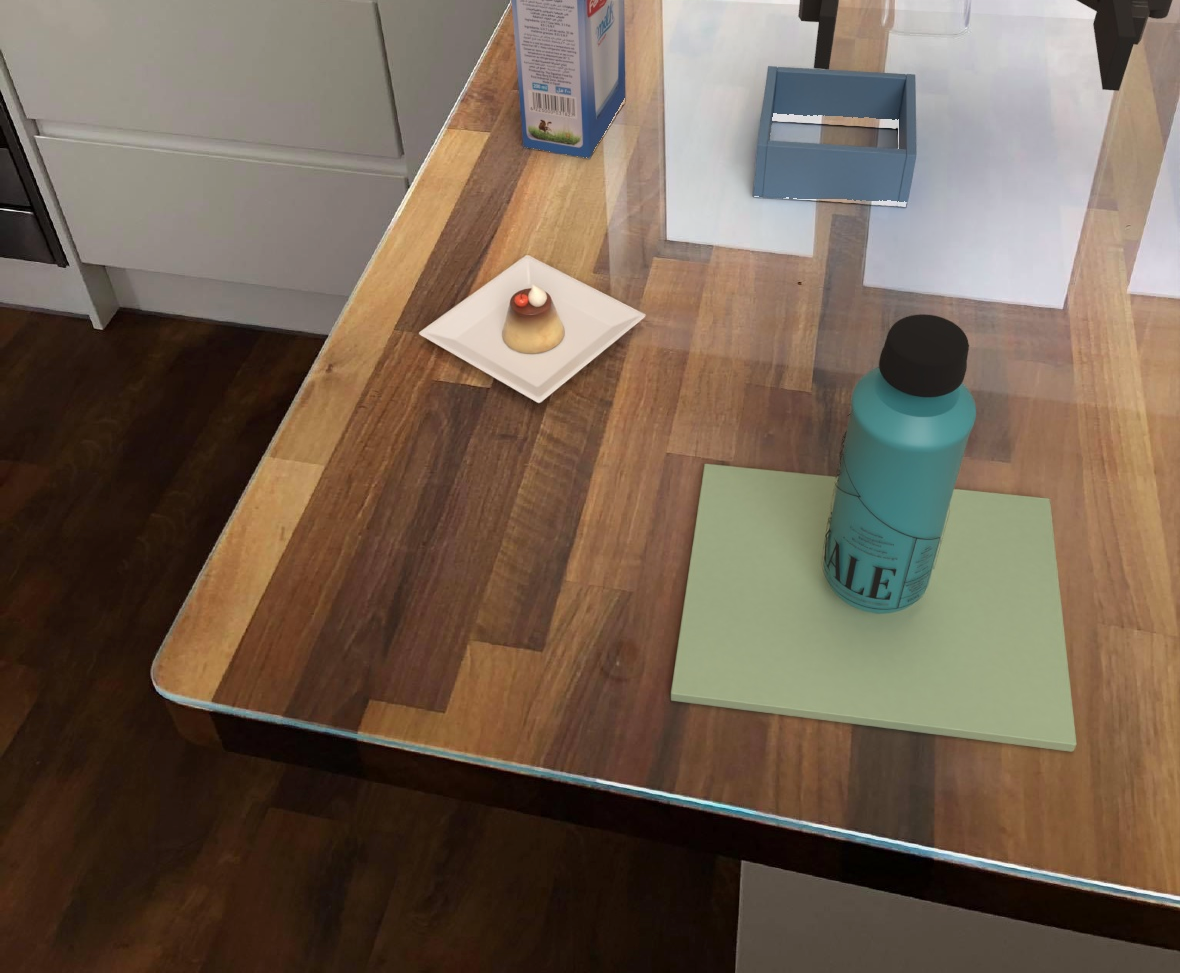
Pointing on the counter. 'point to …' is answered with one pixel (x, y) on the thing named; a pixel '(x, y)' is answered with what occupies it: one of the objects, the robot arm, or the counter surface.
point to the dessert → (532, 327)
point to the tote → (836, 166)
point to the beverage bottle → (899, 466)
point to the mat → (875, 618)
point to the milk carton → (569, 71)
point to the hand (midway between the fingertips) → (968, 53)
